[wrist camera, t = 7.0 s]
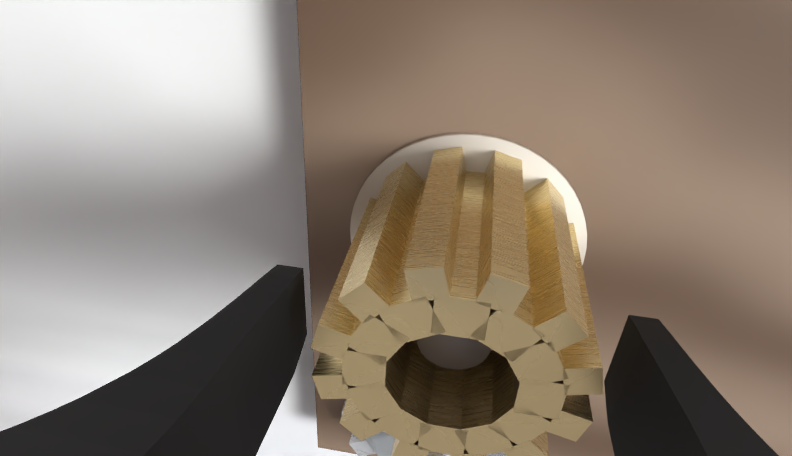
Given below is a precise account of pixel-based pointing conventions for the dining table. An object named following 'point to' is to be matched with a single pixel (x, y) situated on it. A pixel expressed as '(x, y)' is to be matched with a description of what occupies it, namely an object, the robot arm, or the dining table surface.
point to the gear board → (580, 163)
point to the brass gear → (462, 315)
